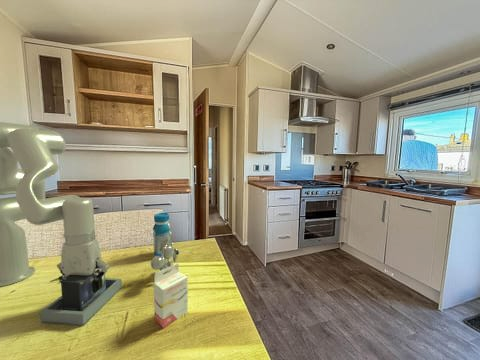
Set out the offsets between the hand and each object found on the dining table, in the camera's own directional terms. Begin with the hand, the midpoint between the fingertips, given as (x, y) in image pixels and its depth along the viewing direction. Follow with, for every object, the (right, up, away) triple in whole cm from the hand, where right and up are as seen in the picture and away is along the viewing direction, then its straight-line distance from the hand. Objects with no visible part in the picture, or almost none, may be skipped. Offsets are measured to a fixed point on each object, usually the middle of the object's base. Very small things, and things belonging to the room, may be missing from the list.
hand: (85, 288), depth 67 cm
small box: (0, -5, 0) cm, 5 cm away
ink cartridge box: (+30, -6, -4) cm, 31 cm away
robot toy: (+21, -4, +15) cm, 26 cm away
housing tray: (0, -5, +1) cm, 5 cm away
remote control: (-16, -4, +17) cm, 23 cm away
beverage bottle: (+12, -1, +35) cm, 37 cm away
